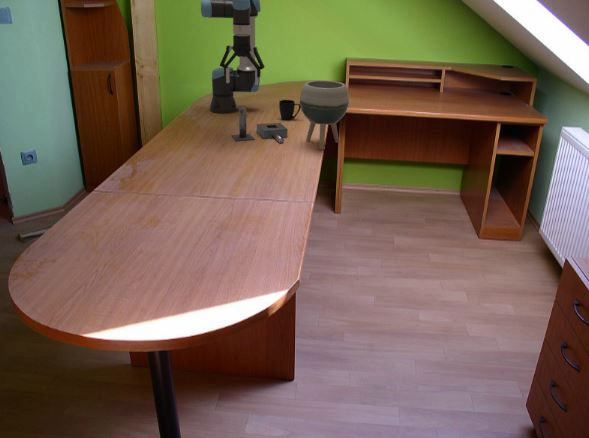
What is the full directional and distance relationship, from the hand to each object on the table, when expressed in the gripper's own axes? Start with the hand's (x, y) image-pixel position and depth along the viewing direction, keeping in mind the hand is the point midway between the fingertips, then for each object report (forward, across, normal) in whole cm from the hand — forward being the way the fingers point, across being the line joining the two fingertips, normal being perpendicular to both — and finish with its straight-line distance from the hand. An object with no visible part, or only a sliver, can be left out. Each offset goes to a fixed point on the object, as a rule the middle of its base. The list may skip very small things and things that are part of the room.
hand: (242, 83), depth 248 cm
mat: (+26, 0, 0) cm, 26 cm away
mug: (+26, +15, +40) cm, 50 cm away
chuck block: (+26, +14, +5) cm, 30 cm away
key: (+25, 0, 0) cm, 25 cm away
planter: (+26, +38, 0) cm, 46 cm away
